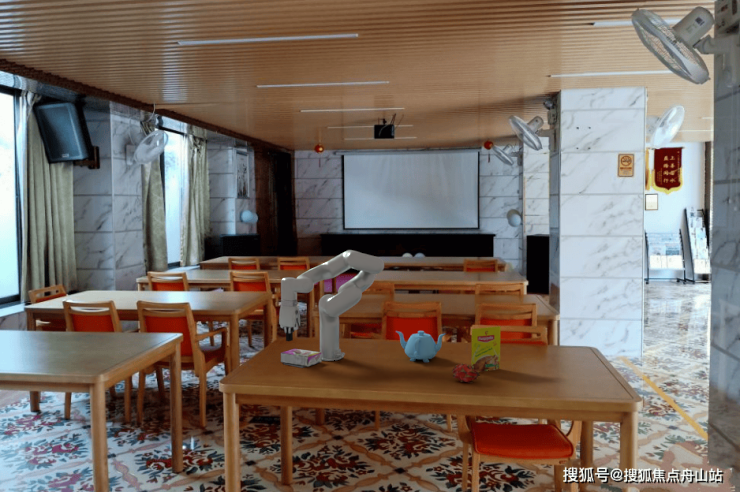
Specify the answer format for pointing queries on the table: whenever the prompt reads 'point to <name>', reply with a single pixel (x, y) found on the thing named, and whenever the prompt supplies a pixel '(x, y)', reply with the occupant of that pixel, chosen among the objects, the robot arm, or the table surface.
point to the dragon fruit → (465, 373)
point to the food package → (486, 349)
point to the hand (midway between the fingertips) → (289, 340)
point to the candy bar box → (301, 357)
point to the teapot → (421, 346)
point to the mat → (294, 365)
